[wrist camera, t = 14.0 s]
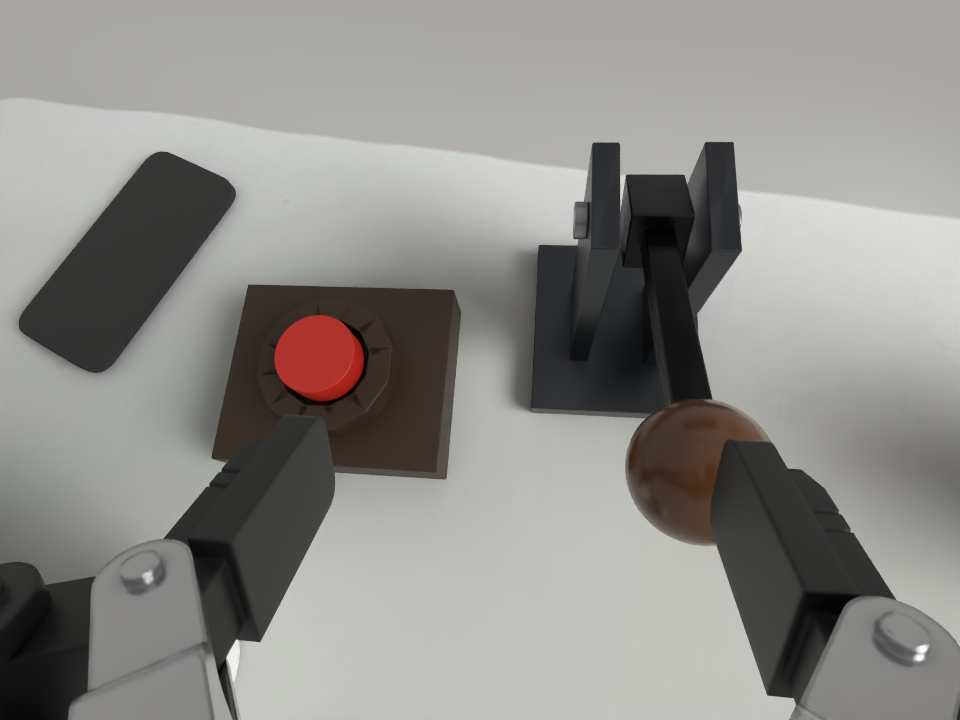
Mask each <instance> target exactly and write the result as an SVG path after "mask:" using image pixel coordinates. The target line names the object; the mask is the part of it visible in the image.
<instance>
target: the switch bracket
mask: <svg viewBox="0 0 960 720" xmlns="http://www.w3.org/2000/svg"><path fill="white" fill-rule="evenodd" d="M687 186H688V190H689V194H690V197H691V201H692V205H693V208H694V212H695V220H694V223H693V227H692V231H691V235H690V239H689V243H688V247H687V250H686V254H685V258H684V262H683V270H684V274H685V279H686V283H687V288H688V292H689V297H690V301H691V306H692V310H693V315H694V319H695V323H696V328H697V332H698V320H697V313H698V312H699V311H700V309H701V308H702V306H703V305H704V304H705V302H706V301H707V299H708V298H709V297H710V295H711V294H712V292H713V291H714V290H715V288H716V287H717V285H718V284H719V282H720V281H721V280H722V278H723V277H724V275H725V274H726V273H727V271H728V270H729V268H730V267H731V266H732V264H733V263H734V261H735V260H736V258H737V257H738V256H739V254H740V253H741V251H742V246H741V233H740V227H741V220H742V213H741V207H740V205H739V204H738V194H737V181H736V168H735V155H734V143H733V142H706V143H705V144H704V147H703V149H702V151H701V154H700V156H699V159H698V161H697V163H696V166H695V168H694V170H693V173H692V175H691V177H690V180H689V182H688V184H687ZM573 238H574V239H579V240H578V246H562V245H539V248H538V270H537V293H536V315H535V337H534V360H533V382H532V404H531V411H532V412H533V413H553V414H573V415H593V416H614V417H634V418H647V417H648V416H649V415H650V414H652V413H653V412H655V411H656V410H658V409H659V408H661V407H663V404H662V397H661V390H660V383H659V376H658V369H657V362H656V356H655V349H654V342H653V335H652V328H651V321H650V314H649V307H648V301H647V294H646V287H645V280H644V273H643V268H623V264H622V255H621V247H620V144H619V143H593V144H592V150H591V156H590V164H589V170H588V177H587V184H586V191H585V198H584V202H575V206H574V219H573Z"/></svg>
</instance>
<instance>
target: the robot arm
mask: <svg viewBox="0 0 960 720" xmlns="http://www.w3.org/2000/svg"><path fill="white" fill-rule="evenodd" d="M334 490H335V473H334V467H333V461H332V455H331V449H330V443H329V438H328V432H327V426H326V422H325V420H324V419H323V417H321V416H303V415H284V416H283V417H282V418H281V419H280V420H279V422H278V423H277V424H276V425H275V427H274V428H273V429H272V431H271V432H270V433H269V434H268V436H267V437H258V438H256V439H255V440H253V441H251V442H250V443H248V444H247V445H245V446H244V447H242V448H241V449H239V450H238V451H236V452H235V454H234V455H233V456H232V457H231V458H230V460H229V461H228V462H227V463H226V464H225V466H224V467H223V468H222V472H219V473H218V474H217V475H216V476H215V478H214V479H213V480H212V481H211V482H210V486H209V487H206V488H205V490H204V491H203V492H202V493H201V494H200V496H199V497H198V498H197V499H196V500H195V502H194V503H193V504H192V505H191V506H190V508H189V509H188V510H187V511H186V512H185V513H184V515H183V516H182V517H181V518H180V519H179V521H178V522H177V523H176V524H175V525H174V527H173V528H172V529H171V530H170V531H169V533H168V534H167V535H166V536H165V537H164V539H158V540H153V541H148V542H145V543H141V544H139V545H136V546H134V547H132V548H130V549H128V550H126V551H124V552H122V553H121V554H119V555H117V556H116V557H115V558H113V559H112V560H111V561H109V562H108V563H107V564H106V565H105V566H104V567H103V568H102V569H101V571H100V572H99V573H98V574H97V576H95V577H89V578H84V579H78V580H72V581H66V582H61V583H55V584H49V585H45V583H44V581H43V579H42V577H41V575H40V573H39V572H38V570H37V569H36V567H34V566H33V565H31V564H28V563H22V562H12V563H5V564H0V720H241V718H240V713H239V708H238V704H237V699H236V694H235V689H234V684H233V679H232V675H231V670H230V665H229V662H228V659H227V655H228V653H229V652H230V650H231V648H232V646H233V644H234V643H235V641H236V640H244V641H254V642H261V640H262V638H263V636H264V634H265V632H266V630H267V628H268V626H269V624H270V622H271V620H272V618H273V616H274V614H275V612H276V611H277V609H278V607H279V605H280V603H281V601H282V599H283V597H284V595H285V593H286V591H287V589H288V587H289V585H290V583H291V581H292V579H293V577H294V576H295V574H296V572H297V570H298V568H299V566H300V564H301V562H302V560H303V558H304V556H305V554H306V552H307V550H308V548H309V546H310V544H311V543H312V541H313V539H314V537H315V535H316V533H317V531H318V529H319V527H320V525H321V523H322V521H323V519H324V517H325V515H326V513H327V511H328V510H329V508H330V505H331V503H332V500H333V496H334ZM838 511H839V510H838V508H837V507H836V505H835V504H834V502H833V501H832V499H831V498H830V496H829V494H828V493H827V491H826V490H825V488H823V487H822V486H821V485H820V484H818V483H817V482H816V481H815V480H813V479H812V478H811V477H810V476H808V475H807V474H806V473H805V472H803V471H802V470H800V469H788V468H787V467H786V465H785V463H784V462H783V460H782V458H781V456H780V455H779V453H778V451H777V449H776V448H775V446H774V445H773V443H771V442H770V441H756V440H737V439H728V440H727V441H726V442H725V444H724V446H723V450H722V454H721V459H720V463H719V468H718V472H717V477H716V481H715V486H714V490H713V495H712V500H711V507H710V520H711V528H712V533H713V536H714V539H715V542H716V545H717V548H718V551H719V554H720V557H721V560H722V563H723V566H724V569H725V572H726V575H727V578H728V581H729V584H730V586H731V589H732V592H733V595H734V598H735V601H736V604H737V607H738V610H739V613H740V616H741V619H742V622H743V625H744V628H745V631H746V634H747V637H748V640H749V643H750V646H751V648H752V651H753V654H754V657H755V660H756V663H757V666H758V669H759V672H760V675H761V678H762V681H763V684H764V687H765V690H766V693H767V695H768V696H778V697H788V698H794V700H795V703H796V707H795V709H794V711H793V713H792V715H791V717H790V719H789V720H960V646H959V645H958V643H957V642H956V641H955V639H954V638H953V637H952V636H951V635H950V634H949V633H948V632H947V631H946V630H945V629H944V628H943V627H942V626H941V625H940V624H938V623H937V622H936V621H935V620H933V619H932V618H931V617H929V616H927V615H926V614H924V613H923V612H921V611H919V610H917V609H916V608H914V607H912V606H909V605H907V604H905V603H902V602H900V601H897V600H896V599H895V597H894V596H893V594H892V593H891V591H890V589H889V588H888V586H887V585H886V583H885V582H884V580H883V579H882V577H881V575H880V574H879V572H878V571H877V569H876V568H875V566H874V565H873V563H872V561H871V560H870V558H869V557H868V555H867V554H866V552H865V551H864V549H863V547H862V546H861V544H860V543H859V541H858V540H857V538H856V537H855V535H854V533H851V532H850V527H849V526H848V524H847V522H846V521H845V519H844V518H843V516H842V515H840V514H839V513H838Z"/></svg>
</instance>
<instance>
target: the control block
mask: <svg viewBox="0 0 960 720" xmlns="http://www.w3.org/2000/svg"><path fill="white" fill-rule="evenodd" d="M314 315H324V316H330V317H333V318H335V319H337V320H339V321H340V322H342V323H343V324H344V325H345V326H346V327H347V328H348V329H349V330H350V331H351V333H352V334H353V335H354V336H355V337H356V338H357V340H358V341H359V342H360V344H361V346H362V349H363V353H364V367H363V371H362V374H361V376H360V378H359V380H358V382H357V383H356V384H355V386H354V387H353V388H352V389H351V390H350V391H349V392H347V393H346V394H345V395H343V396H341V397H339V398H337V399H334V400H330V401H314V400H310V399H308V398H305V397H304V396H302V395H300V394H299V393H297V392H296V391H294V390H293V389H291V388H289V387H288V386H287V385H286V384H284V382H283V381H282V380H281V379H280V377H279V375H278V373H277V371H276V368H275V358H274V356H275V350H276V346H277V344H278V341H279V339H280V338H281V336H282V335H283V333H284V332H285V331H286V330H287V329H288V328H289V327H290V326H291V325H292V324H294V323H295V322H297V321H299V320H300V319H303V318H305V317H309V316H314ZM460 318H461V311H460V308H459V305H458V302H457V299H456V296H455V292H454V290H433V289H395V288H358V287H320V286H282V285H248V289H247V293H246V298H245V303H244V307H243V312H242V317H241V321H240V326H239V331H238V335H237V340H236V345H235V349H234V354H233V359H232V363H231V368H230V373H229V377H228V382H227V387H226V391H225V396H224V401H223V405H222V410H221V415H220V419H219V424H218V429H217V434H216V438H215V443H214V448H213V452H212V457H211V458H212V459H215V460H219V461H223V462H228V461H229V460H230V458H231V457H232V456H233V455H234V454H235V452H236V451H238V450H239V449H241V448H242V447H244V446H245V445H247V444H248V443H250V442H251V441H253V440H255V439H256V438H258V437H267V436H268V434H269V433H270V432H271V431H272V429H273V428H274V427H275V425H276V424H277V423H278V422H279V420H280V419H281V418H282V417H283V416H284V415H303V416H321V417H323V419H324V420H325V422H326V426H327V432H328V438H329V443H330V449H331V455H332V461H333V467H334V472H338V473H353V474H369V475H385V476H401V477H416V478H432V479H446V478H447V466H448V455H449V443H450V432H451V421H452V409H453V398H454V386H455V375H456V364H457V352H458V341H459V329H460Z"/></svg>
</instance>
